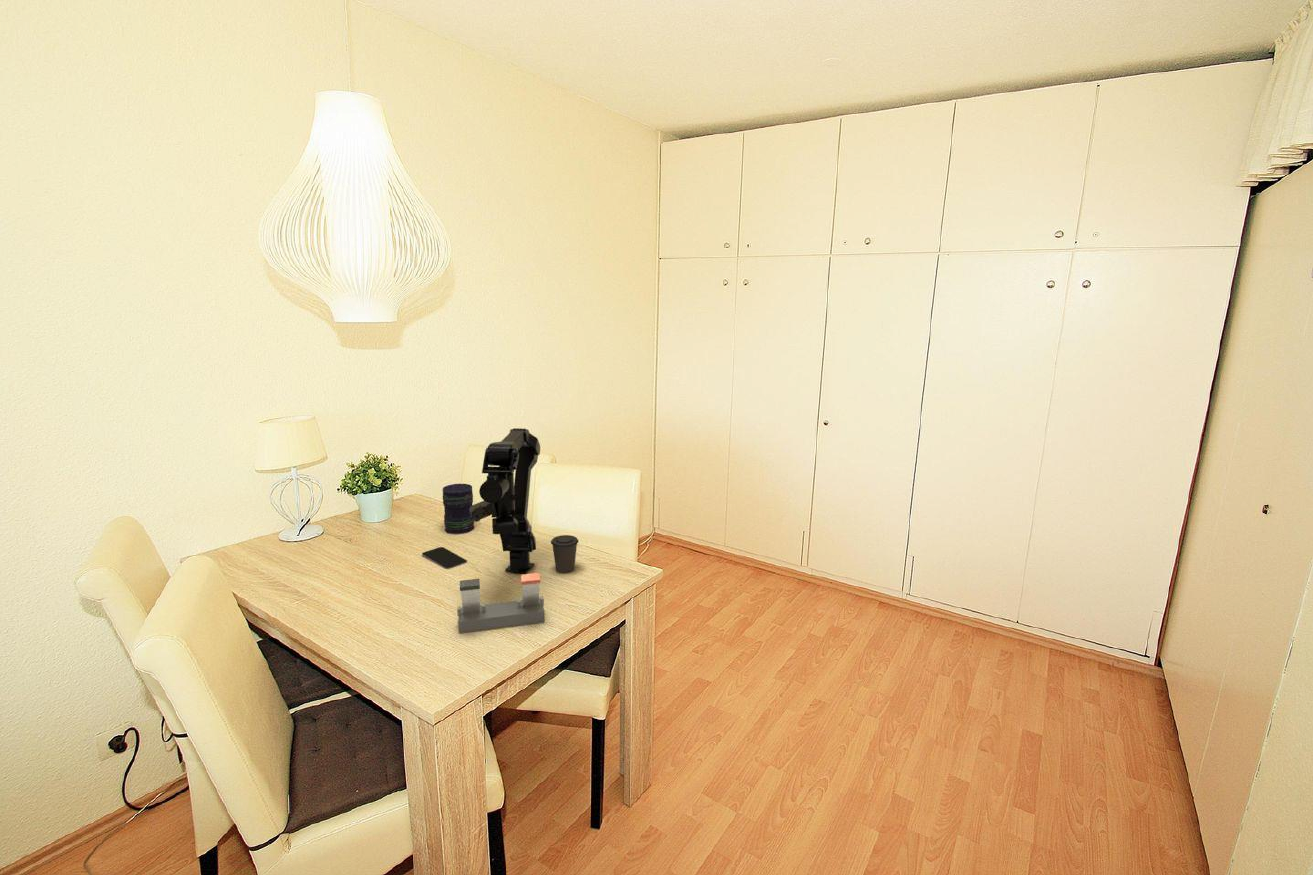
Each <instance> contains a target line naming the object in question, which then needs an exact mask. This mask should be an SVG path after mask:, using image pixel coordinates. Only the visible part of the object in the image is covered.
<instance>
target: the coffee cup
mask: <svg viewBox="0 0 1313 875" xmlns="http://www.w3.org/2000/svg"><path fill="white" fill-rule="evenodd" d="M578 543H579V539H578V538H577V536H574V535H571V534H570V535H569V534H563V535H561V534H560V535H557V536H554V537H553V538H552V539H551V541H550V544H551V545H552V551H553V552H552V553H553V559H554V566H555V571H556V572H557V573H559V574H569V573H573V572H574V571H575V564H576V556H577V555H576V554H577V546H578ZM573 570H574V571H573Z"/></svg>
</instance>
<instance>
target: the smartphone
mask: <svg viewBox="0 0 1313 875" xmlns="http://www.w3.org/2000/svg"><path fill="white" fill-rule="evenodd" d="M421 556H422V558H424V559H426V560H429V561H430V562H432V563H434V564H435V565H436V566H439V567H441V568H443V569H445V570H450V569H453V568H456V567H459V566H462V565H465V564H466V563H468V560H467V559H465V558H463V557H462V556H460V555H458V554H457V553H454V552H453V551H451V550H449V549H447V548H445V547H443V546H439V547H435V548H433V549H430V550H427V551H424V552H422V553H421Z"/></svg>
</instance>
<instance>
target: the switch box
mask: <svg viewBox="0 0 1313 875" xmlns="http://www.w3.org/2000/svg"><path fill="white" fill-rule="evenodd" d="M544 606H545V599H544V596H543V595H541V596H540V595H539V605H531V606H522V599H521V598H517V599H516V600H511V601H510V600H509V601H502V602H495V603H493V602H492V603H486V602H482V603H481V604H480V612H473V613H465V614H463V610H462V605H457V609H456V610H457V617H458V620H457V626H458V634H464V633H465V634H466V633H472V632H481V631H487V630H489V631H490V630H496V629H502V628H511V627H518V626H525V625H533V624H539V623H545V608H544Z"/></svg>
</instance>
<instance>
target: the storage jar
mask: <svg viewBox="0 0 1313 875" xmlns="http://www.w3.org/2000/svg"><path fill="white" fill-rule="evenodd" d="M473 503H474V494H473V485H471V484H468V483H454V484H447V485H445V486H443V487H442V504H443V507H444V515H443V521H444V522H443V524H444V532H445V533H447V534H449V535H463V534H468V533H471V532H473V531H475V530H474V529H475V522H474V520H473V518H472V516H471V513H470V507H471V506H472V505H473Z"/></svg>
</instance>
